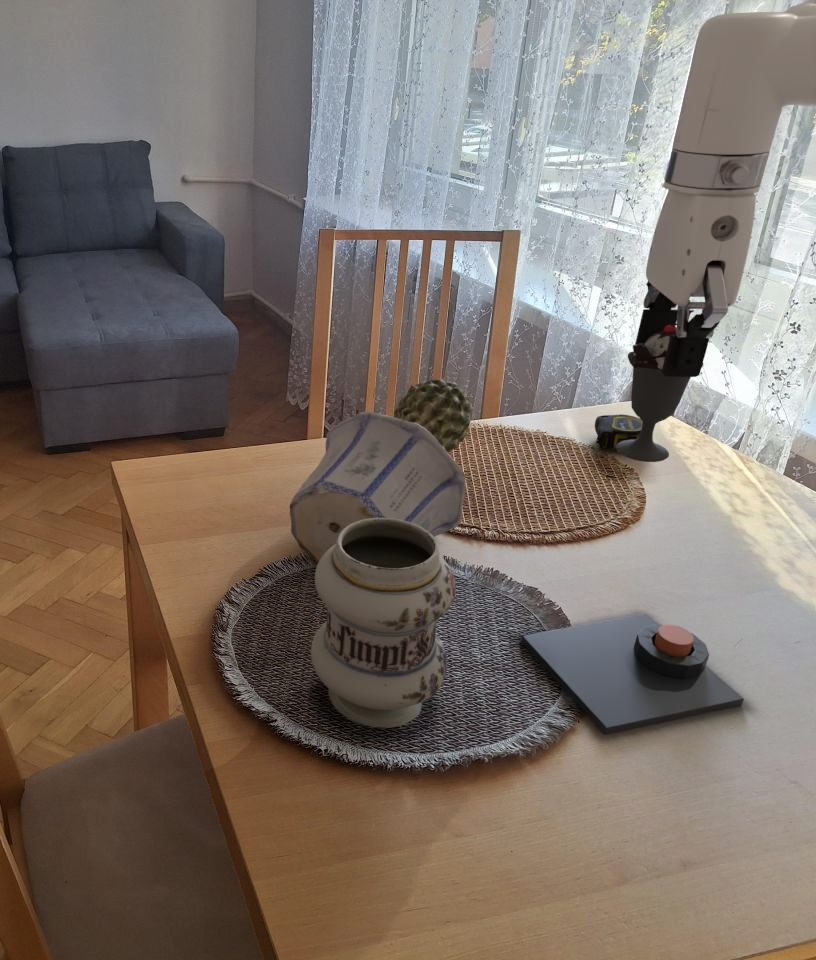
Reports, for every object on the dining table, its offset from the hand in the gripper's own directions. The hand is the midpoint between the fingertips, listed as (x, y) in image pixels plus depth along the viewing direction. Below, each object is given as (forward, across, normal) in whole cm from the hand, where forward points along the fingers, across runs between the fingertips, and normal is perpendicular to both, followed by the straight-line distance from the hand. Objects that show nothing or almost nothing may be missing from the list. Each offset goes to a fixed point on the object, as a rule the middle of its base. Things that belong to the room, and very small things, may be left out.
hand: (665, 359), depth 84 cm
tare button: (+23, -16, 0) cm, 28 cm away
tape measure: (+26, +33, -10) cm, 43 cm away
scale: (+26, -18, +4) cm, 31 cm away
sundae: (+10, 0, 0) cm, 10 cm away
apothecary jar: (+26, -23, +28) cm, 44 cm away
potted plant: (+26, +7, +24) cm, 36 cm away
